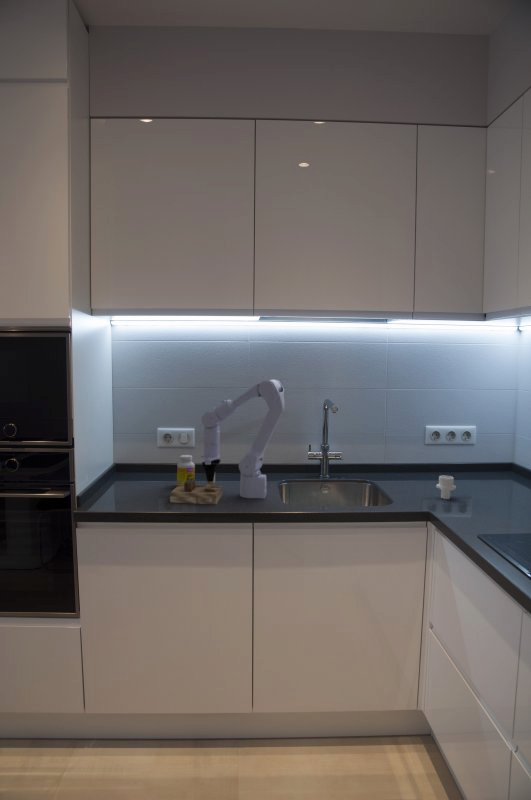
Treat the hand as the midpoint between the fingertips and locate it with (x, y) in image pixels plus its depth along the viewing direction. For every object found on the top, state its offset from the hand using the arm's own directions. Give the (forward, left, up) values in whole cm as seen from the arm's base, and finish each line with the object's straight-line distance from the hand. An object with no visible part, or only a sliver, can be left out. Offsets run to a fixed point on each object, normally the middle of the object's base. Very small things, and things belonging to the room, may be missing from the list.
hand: (211, 480), depth 202 cm
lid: (+3, +11, -2) cm, 12 cm away
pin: (0, 0, -4) cm, 4 cm away
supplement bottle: (+11, -6, -6) cm, 14 cm away
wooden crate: (+3, +11, -5) cm, 13 cm away
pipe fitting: (-87, -10, -6) cm, 88 cm away
